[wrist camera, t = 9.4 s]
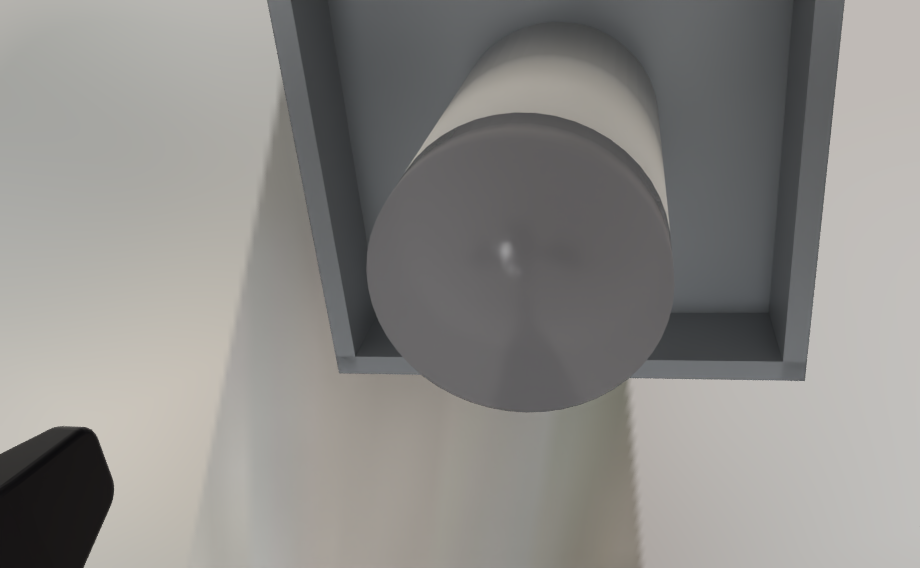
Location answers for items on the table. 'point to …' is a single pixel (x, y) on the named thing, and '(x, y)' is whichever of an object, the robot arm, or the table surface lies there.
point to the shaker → (531, 228)
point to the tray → (682, 139)
